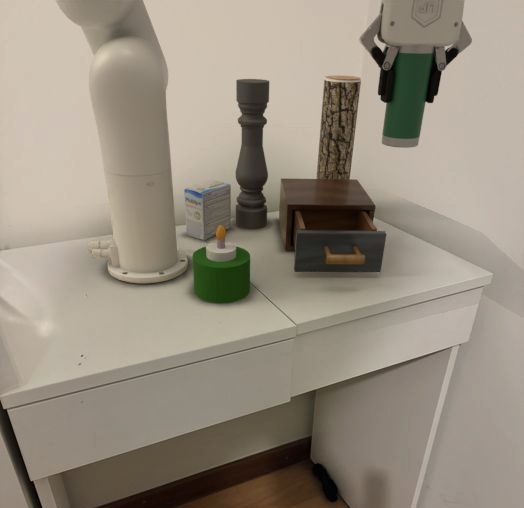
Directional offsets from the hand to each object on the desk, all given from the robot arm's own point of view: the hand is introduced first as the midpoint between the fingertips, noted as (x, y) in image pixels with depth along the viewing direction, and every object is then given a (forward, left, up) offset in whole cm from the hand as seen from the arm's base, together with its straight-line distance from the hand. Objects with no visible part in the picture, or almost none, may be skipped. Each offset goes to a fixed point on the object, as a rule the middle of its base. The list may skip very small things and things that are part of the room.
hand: (406, 100), depth 73 cm
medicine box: (-29, +14, -25) cm, 41 cm away
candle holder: (-21, +19, -25) cm, 38 cm away
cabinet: (-8, +13, -25) cm, 29 cm away
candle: (-26, -10, -25) cm, 38 cm away
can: (0, 0, -6) cm, 6 cm away
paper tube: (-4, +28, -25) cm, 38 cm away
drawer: (-8, -1, -24) cm, 25 cm away
